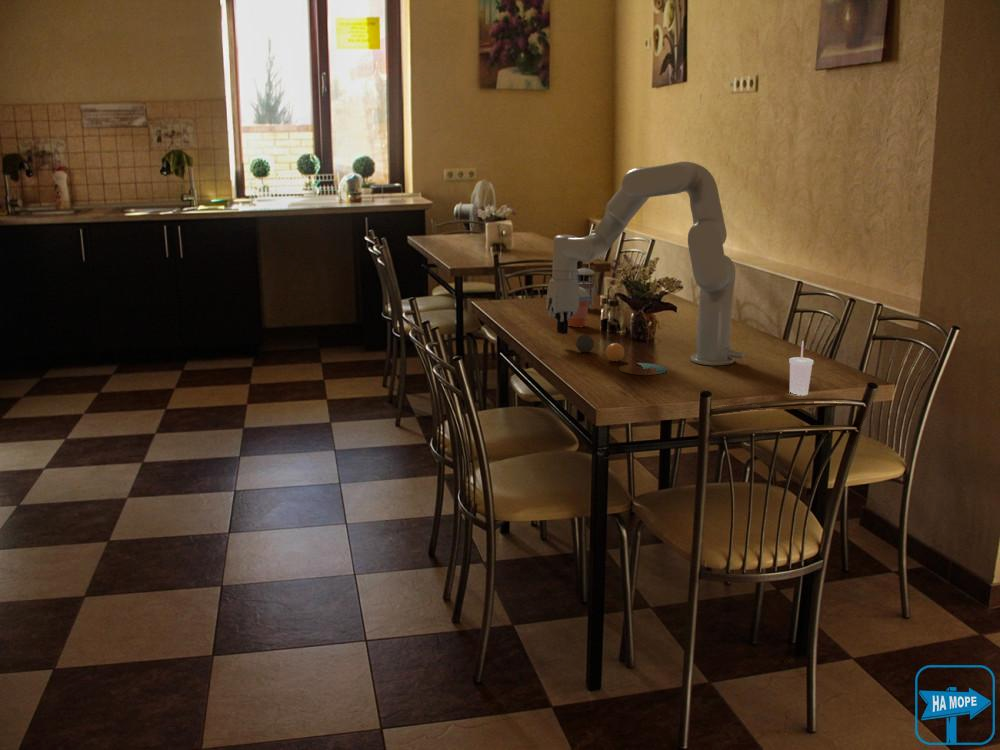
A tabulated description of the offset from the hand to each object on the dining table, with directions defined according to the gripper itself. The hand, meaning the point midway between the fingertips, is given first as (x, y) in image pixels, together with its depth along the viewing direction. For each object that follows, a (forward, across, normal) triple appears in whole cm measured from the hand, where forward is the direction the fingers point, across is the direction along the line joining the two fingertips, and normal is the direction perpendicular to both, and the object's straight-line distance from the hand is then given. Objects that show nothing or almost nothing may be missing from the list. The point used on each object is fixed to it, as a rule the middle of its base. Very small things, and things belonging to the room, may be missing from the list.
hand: (562, 333), depth 306 cm
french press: (+5, -47, -46) cm, 66 cm away
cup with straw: (+5, -24, -23) cm, 33 cm away
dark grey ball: (+2, -1, +10) cm, 10 cm away
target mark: (+4, -1, +36) cm, 36 cm away
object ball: (+1, -1, +24) cm, 24 cm away
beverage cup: (+3, -18, +78) cm, 80 cm away
